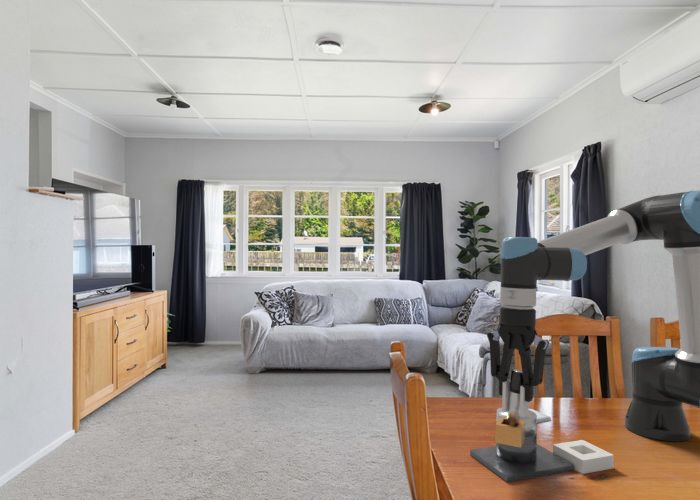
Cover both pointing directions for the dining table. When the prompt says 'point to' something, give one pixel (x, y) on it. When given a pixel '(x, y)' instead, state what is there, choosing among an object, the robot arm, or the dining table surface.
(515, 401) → the black and grey rod
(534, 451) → the dark square base plate
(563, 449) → the white flat square block
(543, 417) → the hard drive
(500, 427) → the grey and tan piece
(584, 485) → the dining table surface
